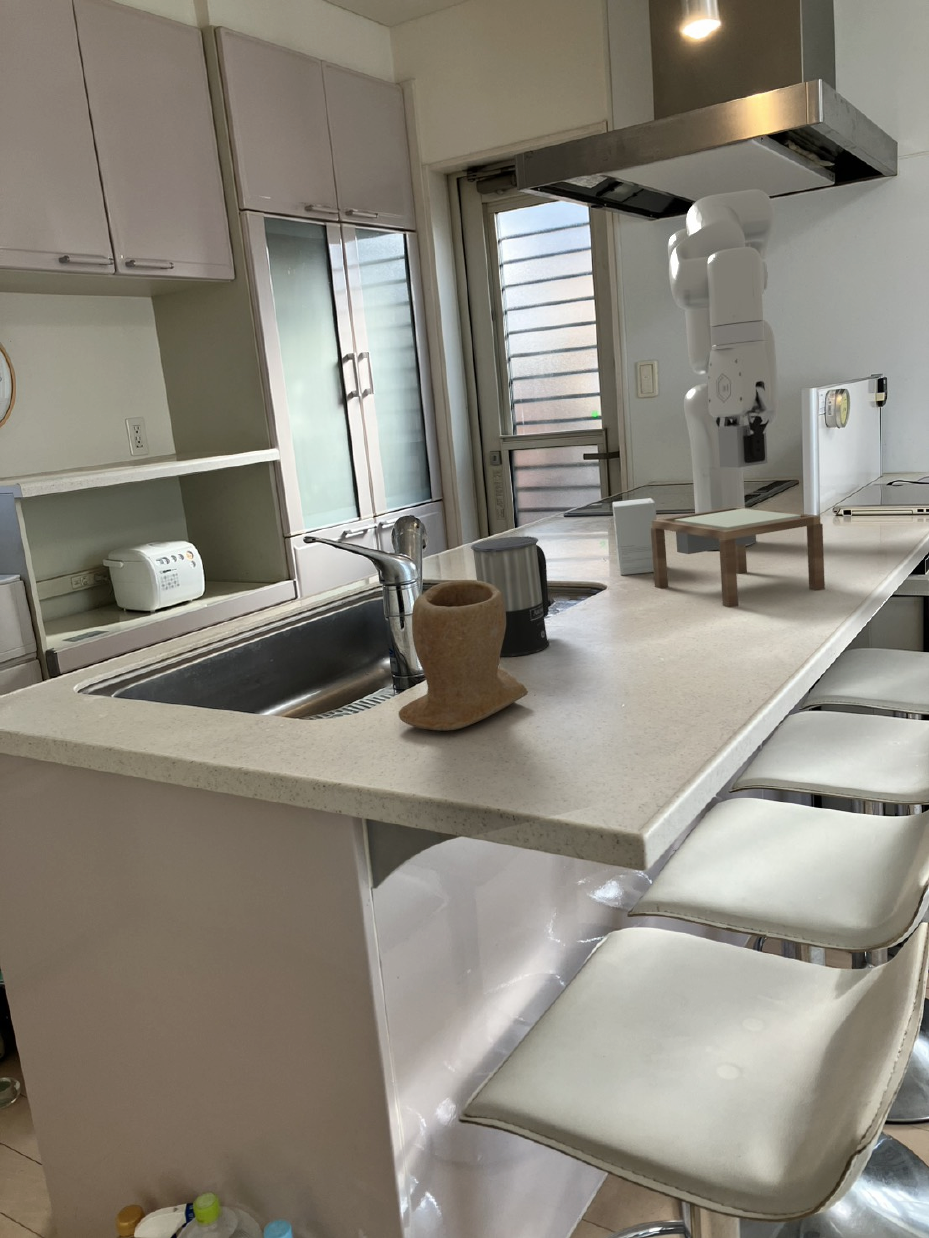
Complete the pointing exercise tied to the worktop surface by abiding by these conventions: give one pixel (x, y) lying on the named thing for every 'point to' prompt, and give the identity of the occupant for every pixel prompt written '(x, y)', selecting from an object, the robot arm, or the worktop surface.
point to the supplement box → (634, 535)
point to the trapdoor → (725, 527)
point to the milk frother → (517, 589)
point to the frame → (738, 548)
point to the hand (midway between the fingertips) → (743, 460)
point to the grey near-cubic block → (734, 446)
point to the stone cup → (460, 656)
